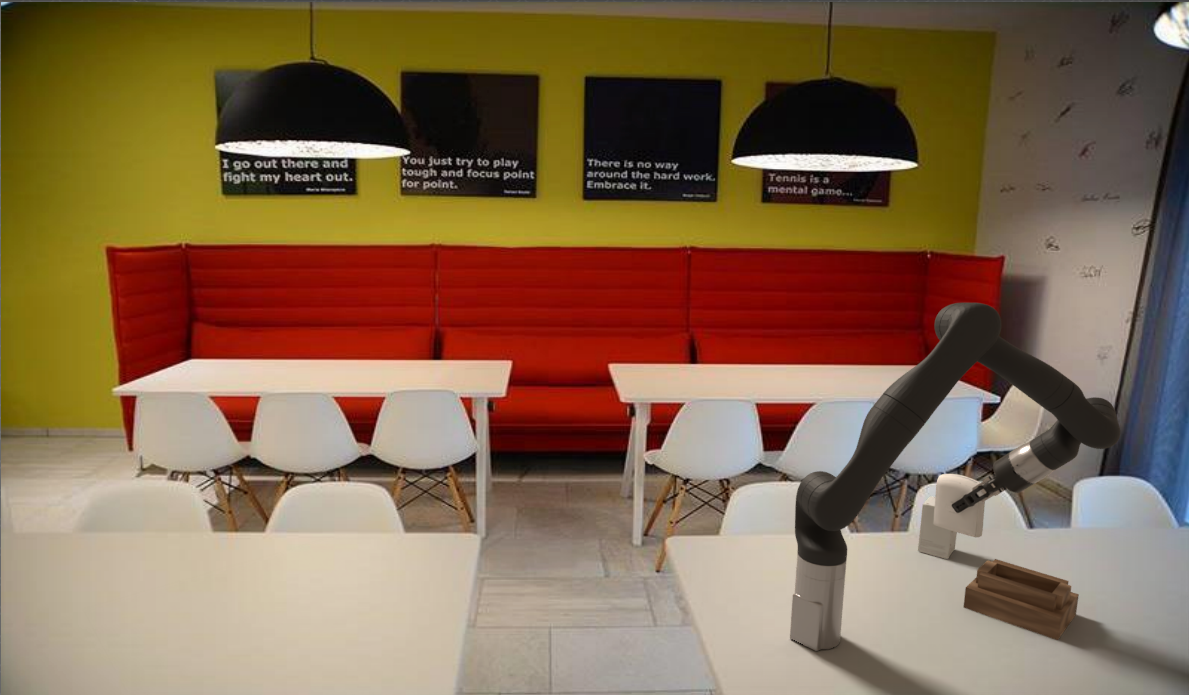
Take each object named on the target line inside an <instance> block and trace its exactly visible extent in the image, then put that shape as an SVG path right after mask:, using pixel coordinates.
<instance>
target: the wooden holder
mask: <svg viewBox="0 0 1189 695" xmlns="http://www.w3.org/2000/svg"><path fill="white" fill-rule="evenodd" d="M1079 595H1080V594H1079V593H1076V592H1072V585H1070V584H1069V580H1066V579H1063V578H1061V577H1057V576H1053V575H1049V574H1046V573H1043V572H1040V571H1036V570H1033V569H1030V568H1026V567H1023V566H1019V565H1016V564H1014V563H1010V562H1007V561H1004V560H1000V559H997V558H995V559H993V561H992V560H991V561H990V560H988V559H987V560H986V561H985V562H983V564H982V565H981V566H980V567H978V569H977V570H976V577H975V578H974V579H973V580H972V581H971V582H970V583H969V584H967V585H966V586H965V590H964V599H963V600H964V601H963V608H964V609H967V610H969V611H972V612H976V613H978V614H981V615H984V616H987V617H990V618H992V619H994V620H995V619H996V620H998V621H1001V622H1004V623H1007V624H1009V625H1012V626H1015V627H1019V628H1021V629H1025V630H1027V631H1030V632H1031V633H1032V632H1033V633H1036V634H1039V635H1041V636H1044V637H1046V638H1047V637H1048V638H1049V639H1052V640H1056V641H1058V640H1059V639H1060V638H1061V636H1062V635H1063V633H1065V631H1066V629H1067V628H1068V626H1069V625H1070V623H1072V622H1073V620H1074V619H1075V617H1076V615H1077V608H1078V602H1079Z"/></svg>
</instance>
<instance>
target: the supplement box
mask: <svg viewBox="0 0 1189 695" xmlns="http://www.w3.org/2000/svg"><path fill="white" fill-rule="evenodd" d="M921 508H922V509H921V517H920V526H919V535H918V536H919V537H918V544H917V545H918V546H917V552H919V553H922V554H926V555H930V556H934V557H937V558H942V559H944V560H948V559H949V558H950V556H951V555H952V553H953V552H954V551H955V550H956V544H957V543H956V542H957V535H958V532H955V531H951V530H948V529H945V528H942V527H939V526H936V525H934V509H935V496H933V495H932V496H931V495H930V496H929V497H928V498H927V499H926V500H925V501H924V502H923V503H922V506H921Z"/></svg>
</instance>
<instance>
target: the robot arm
mask: <svg viewBox="0 0 1189 695" xmlns="http://www.w3.org/2000/svg"><path fill="white" fill-rule="evenodd" d="M933 326H934V332H935V335H936V337H937V339H938V340H939V341H938V343H937V344H936V345H935V347H934V348H933V349H932V350H931V352H930V353H929V354H928V355H927V356H926V357H925V358H924V359H923V360H922V361H920V362H919V363H918V364H917V365H915V366H914V367H913V368H911V369H910V370H908V371H906V372H905V373H903V375H901V376H900V377H899V378H897V379H896V380H895V381H894V382H893V383H891V385H889V386H888V387H887V389H886V390H885V391H884V392H883V393H882V394H881V396H880V397H879V398H878V399H877V401H875V403H874V404H873V406H872V407H871V408H870V410H869V411H868V412H867V414H866V416H865V418H864V420H863V424H862V427H861V430H860V434H859V436H858V437H859V438H858V441H857V444H856V448H855V450H854V453H853V455H852V456H851V457H850V460H849V461H848V463H847V464H846V465H845V466H844V467H843V469H842V470H841V471H840V473H838V475H836V476H834V475H833V474H831V473H830V472H827V471H822V470H819V471H817V470H816V471H813V472H810V473H809V474H807V475H806V476H805V477H804V478H803V479H802V480H801V482H800V484H799V485H798V488H797V491H796V495H795V508H794V515H795V516H794V535H795V536H794V537H795V540H796V543H797V550H796V551H797V555H796V567H795V568H796V570H795V582H794V583H795V584H794V593H793V594H792V600H791V602H792V603H791V616H790V633H789V639H791V640H792V639H793V640H792V641H794V640H795V641H794V642H796V641H797V642H796V643H798V642H799V643H798V644H800V643H801V644H800V645H802V644H803V646H805V647H806V648H809V649H811V650H813V651H815V652H818V651H820V650H829V649H833V647H834V648H836V647H837V646H839V644H840V642H841V634H842V633H841V632H842V624H843V623H842V622H843V621H842V620H843V619H842V618H843V609H844V597H845V596H844V595H845V585H846V584H845V583H846V570H847V559H848V545H847V543H846V542H847V541H846V540H845V538H844V536H843V532H842V529H845V528H846V527H847V526H849V525H850V524H852V523H853V521H854V520H855V519H856V518H857V516H858V515H859V514H860V512H861V511H862V510H863V507H865V505H866V503H867V502H868V499H869V498H870V497H871V495H872V494H873V492H874V490H875V488H876V487H877V486H878V484H879V483H880V481H881V480H882V478H883V477H884V476H885V474H886V473H887V472H888V471H889V469H890V468H891V467H892V466H893V464H894V463H895V462H896V460H897V459H898V457H899V456H900V455H901V454H902V452H903V451H904V450H905V448H907V446H908V445H909V444H910V443H911V442H912V440H913V439H914V438H915V437H916V436H917V435H918V433H919V432H920V431H921V430H922V428H923V427H924V426H925V424H926V423H927V422H928V421H929V419H930V418H931V416H932V415H933V414H934V412H935V411H936V410H937V408H939V406H940V405H941V403H943V401H944V400H945V399H946V398H947V396H948V395H949V394H950V392H951V391H952V390H953V388H954V387H955V386H956V385H957V383H958V382H959V381H960V380H961V378H963V377H964V375H966V373H967V372H968V371H969V370H971V368H972V367H973V366H974V365H976V364H977V363H979V364H981V365H982V366H984V367H986V369H989V370H991V371H992V372H994V373H995V374H997V375H998V376H999V377H1001V378H1002V379H1004V380H1005V381H1006V382H1008V383H1009V384H1011V385H1012V386H1014V387H1015V388H1016V389H1017V390H1019V391H1020V392H1021V393H1023V394H1024V395H1026V396H1027V397H1028V398H1029V399H1030V400H1032V401H1034V402H1035V403H1036V404H1038V405H1039V406H1040V407H1041V408H1043V409H1045V410H1046V411H1048V412H1049V413H1051V414H1052V415H1053V416H1054V418H1055V419H1056V421H1055V422H1054V423H1053V424H1052V426H1051V427H1050V428H1049V429H1048V430H1045V431H1043V433H1041V434H1038V436H1036V437H1034V438H1033V439H1031V440H1029V441H1028V442H1026V443H1025V442H1024V443H1023V444H1021V445H1020V446H1018V447H1016V448H1014V449H1012V451H1010V452H1008V453H1007V454H1005V455H1003V456H1002V457H1000V458H998V459H997V460H995V461H994V463H993V465H992V470H993V472H994V473H992V474H991V475H989V476H987V477H986V478H984V479H983V480H982V482H980V484H978V485H977V486H975V487H973V488H972V492H970V493H968V494H965V495H964V496H963V498H961V499H960V500H958V501H956V502H955V503H953V504H952V508H953V509H954V510H955V511H956V513H960V512H961V511H963V510H965V509H966V508H968V507H971V506H974V505H975V504H976V503H978V502H979V501H981V502H984V501H985V502H986V501H987V500H989V499H991V498H992V497H996V496H998V495H999V494H1002V492H1004V491H1006V490H1008V491H1010V492H1011V493H1015V494H1019V493H1022V492H1023V491H1025V490H1027V489H1028V488H1030V487H1032V486H1033V485H1035V484H1036V483H1038V482H1040V481H1042V480H1044V479H1045V478H1047V477H1048V476H1050V475H1051V474H1052V473H1053V472H1054V471H1056V470H1057V469H1059V468H1061V467H1063V466H1065V465H1066V464H1068V463H1069V462H1071V461H1073V460H1074V459H1075V458H1076V457H1077V456H1078V454H1079V451H1080V447H1081V444H1083V445H1085V446H1086V447H1088V448H1093V449H1096V450H1105V449H1109V448H1112V447H1113V446H1115V445H1116V444H1117V443H1118V442H1119V439H1120V437H1121V428H1120V423H1119V421H1118V417H1117V412H1116V409H1115V407H1114V406H1113V404H1112V403H1111V402H1110V401H1109V400H1107V399H1105V398H1103V397H1097V396H1095V397H1088V398H1086V396H1085V395H1084V392H1083V390H1082V389H1081V388H1080V387H1079V385H1078V384H1076V383H1075V382H1074V381H1073V380H1071V379H1070V378H1069V377H1067V376H1066V375H1064V374H1063V373H1061V372H1060V371H1059V370H1057V369H1056V368H1055V367H1053V366H1052V365H1050V364H1049V363H1046V361H1043V360H1041V359H1039V358H1038V357H1036V356H1033V355H1032V354H1029V353H1027V352H1025V351H1024V350H1022V349H1020V348H1018V346H1017V347H1016V346H1015V345H1013V344H1012V343H1010V342H1008V341H1007V340H1005V338H1002V337H1001V336H1000V334H1001V330H1002V318H1001V315H1000V314H999V311H998V310H996V309H995V308H994V307H993V306H991V305H989V304H985V303H981V302H955V303H951V304H948V305H946V306H945V307H943V308H941V310H939V312H938V314H937V315H936V317H935V320H934V325H933ZM973 499H974V500H973Z"/></svg>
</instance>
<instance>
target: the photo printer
mask: <svg viewBox="0 0 1189 695" xmlns="http://www.w3.org/2000/svg"><path fill="white" fill-rule="evenodd" d="M980 483H981V482H979V481H978V480H977V479H974V478H971V477H969V476H965V475H961V474H956V473H943V474H941V475H940V474H939V476H938V478H937V481H936V484H935V496H934V497H935V509H934V525H936V526H939V527H942V528H945V529H948V530H951V531H955V532H957V534H962V535H964V536H965V535H966V536H968V537H973V538H980V537H982V536H983V531H984V519H985V518H984V516H985V506H986V501H984V502H981V501H979V502H978V503H976V504H975V505H974V506H971V507H968V508H966V509H965V510H963V511H961V512H960V513H956V511H955V510H954V509H953V508H952V504H953V503H955V502H956V501H958V500H960V499H961V498H963V496H964V495H965V494H968V493H970V492H972V488H973V487H975V486H977V485H978V484H980ZM973 500H974V499H973Z"/></svg>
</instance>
